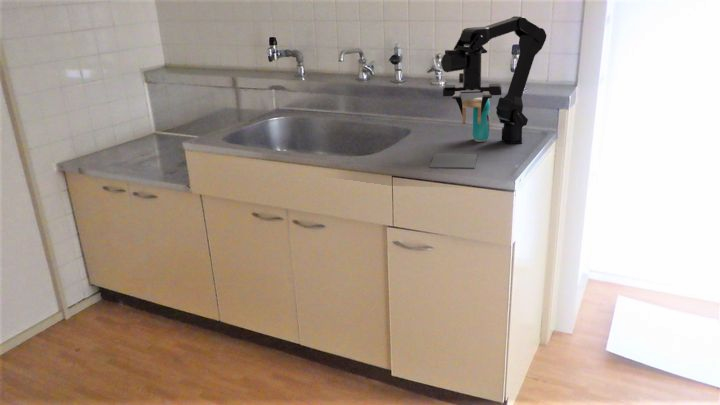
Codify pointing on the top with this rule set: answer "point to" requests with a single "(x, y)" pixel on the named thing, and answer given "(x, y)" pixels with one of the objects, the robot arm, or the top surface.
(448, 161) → the mat
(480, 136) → the beverage can
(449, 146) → the top surface
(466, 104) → the stool
